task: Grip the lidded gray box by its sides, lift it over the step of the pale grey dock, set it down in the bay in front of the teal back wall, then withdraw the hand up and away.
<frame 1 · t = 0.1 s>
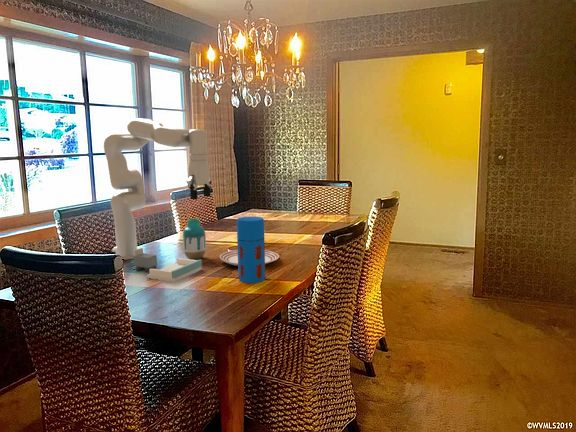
hand: (200, 197, 201), 31 cm above the table, tool pointing down, fingers open, 9 cm apart
vase: (195, 258, 220), on the table
lidded gray box: (145, 269, 202), on the table
loading dock: (175, 273, 196), on the table
thermos: (251, 279, 187), on the table
dinner plate: (249, 262, 213), on the table
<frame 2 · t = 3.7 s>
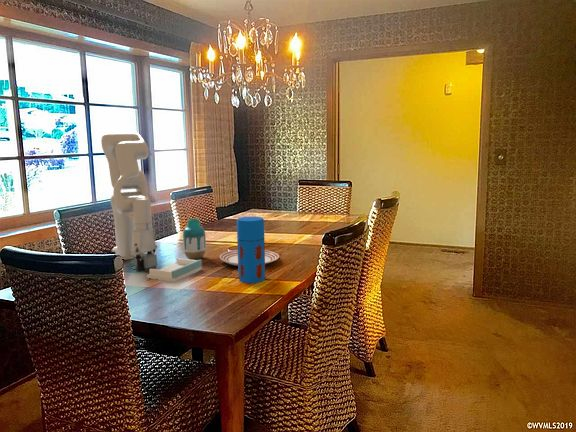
hand: (145, 266, 202), 2 cm above the table, tool pointing down, fingers closed on lidded gray box, 5 cm apart
lidded gray box: (146, 269, 202), on the table, touching gripper
everything else where it was.
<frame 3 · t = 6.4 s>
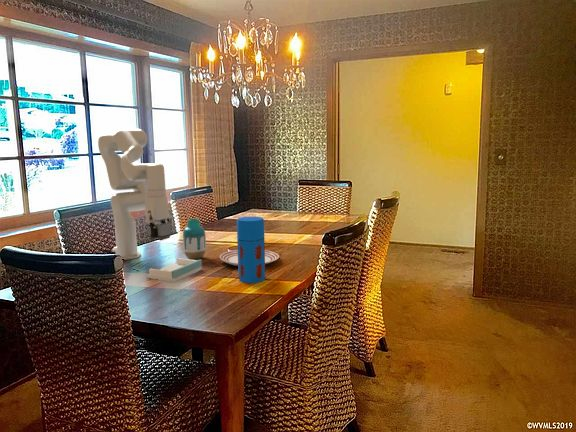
hand: (159, 235, 195), 16 cm above the table, tool pointing down, fingers closed on lidded gray box, 5 cm apart
lidded gray box: (159, 238, 196), point 15 cm above the table, touching gripper
everything else where it was.
when the fingers open (4 cm above the table, at t = 9.4 s): lidded gray box drops 1 cm, resting on loading dock.
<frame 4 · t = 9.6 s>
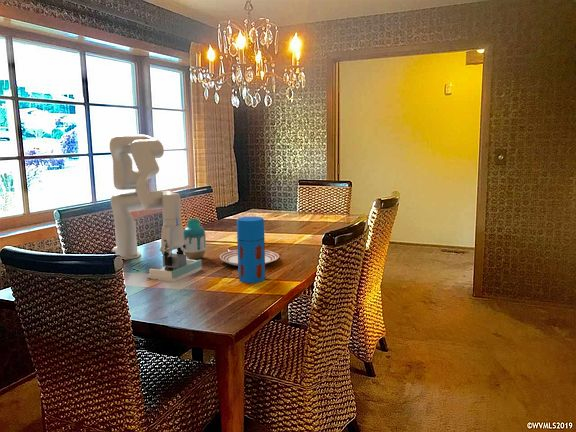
hand: (174, 262, 195), 5 cm above the table, tool pointing down, fingers open, 7 cm apart
lidded gray box: (175, 270, 195), point 2 cm above the table, touching loading dock
everything else where it was.
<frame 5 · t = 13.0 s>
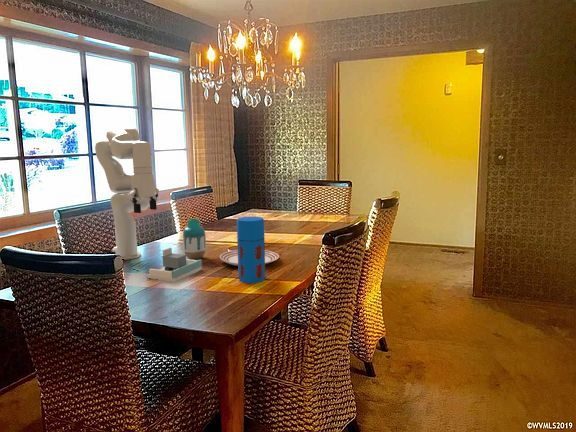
hand: (145, 211, 197), 26 cm above the table, tool pointing down, fingers open, 9 cm apart
nothing on the table moved.
at the end: lidded gray box inside the target area on the loading dock (0.5 cm from its centre), point 1.5 cm above the loading dock's base; lidded gray box tilted 0°; the gripper is holding nothing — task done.
